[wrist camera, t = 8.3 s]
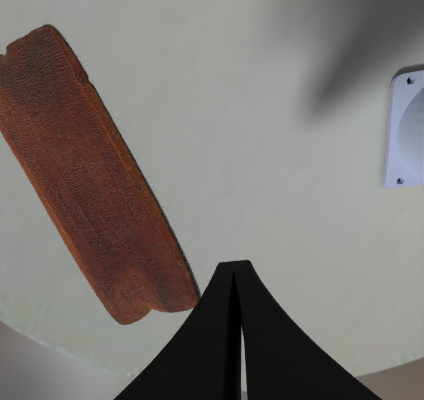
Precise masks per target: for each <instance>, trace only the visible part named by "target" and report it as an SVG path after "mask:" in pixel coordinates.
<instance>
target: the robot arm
mask: <svg viewBox="0 0 424 400" xmlns="http://www.w3.org/2000/svg"><path fill="white" fill-rule="evenodd" d="M408 77H409V78H410V80H411V81H410V83H409V84H408V83H407V79H408ZM399 178H400V182H398V183H397V180H398V179H399ZM383 184H384V186H386V187H388V188H398V187H407V186H415V185H423V184H424V70H420V71H414V72H408V73H403V74H400V75H397V76H396V77H394V79H393V80H392V83H391V94H390V106H389V118H388V130H387V143H386V155H385V167H384V179H383ZM241 325H242V331H243V336H244V346H245V362H246V379H247V395H248V400H382V399H381V398H379V397H378V396H377V395H376V394H374V393H373V392H372V391H371V390H369V389H368V388H367V387H366V386H364V385H363V384H362V383H361V382H359V381H358V380H357V379H356V378H354V377H353V376H352V375H351V374H350V373H349V372H347V371H346V370H345V369H344V368H343V367H342V366H341V365H339V364H338V363H337V362H336V361H335V360H334V359H333V358H331V357H330V356H329V355H328V354H327V353H326V352H324V351H323V350H322V349H321V348H320V347H319V346H318V345H317V344H316V343H315V342H314V341H313V340H312V339H311V338H310V337H309V336H308V335H306V334H305V333H304V332H303V330H302V329H301V328H300V327H299V326H298V325H297V324H296V323H295V322H294V321H293V320H292V319H291V318H290V317H289V316H288V315H287V313H286V312H285V311H284V310H283V309H282V308H281V306H280V305H279V304H278V303H277V302H276V300H275V299H274V298H273V296H272V295H271V294H270V292H269V291H268V290H267V288H266V287H265V286H264V284H263V283H262V281H261V280H260V278H259V276H258V275H257V273H256V271H255V270H254V268H253V266H252V263H251V262H250V261H249V260H241V261H230V262H220V263H219V264H218V265H217V267H216V270H215V272H214V274H213V276H212V278H211V280H210V282H209V284H208V286H207V288H206V289H205V291H204V293H203V295H202V296H201V298H200V300H199V301H198V303H197V304H196V306H195V307H194V309H193V310H192V312H191V313H190V315H189V316H188V318H187V319H186V321H185V322H184V323H183V325H182V326H181V327H180V329H179V330H178V331H177V333H176V334H175V335H174V336H173V338H172V339H171V340H170V341H169V342H168V344H167V345H166V346H165V347H164V348H163V349H162V350H161V352H160V353H159V354H158V355H157V356H156V357H155V358H154V360H153V361H152V362H151V363H150V364H149V365H148V366H147V367H146V368H145V369H144V370H143V371H142V372H141V373H140V374H139V375H138V376H137V377H136V378H135V379H134V380H133V381H132V382H131V383H130V384H129V385H128V386H127V387H126V388H125V389H124V390H123V391H122V392H121V393H120V394H119V395H118V396H117V397H116V398H115V399H114V400H241Z"/></svg>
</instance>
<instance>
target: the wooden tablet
mask: <svg viewBox="0 0 424 400" xmlns="http://www.w3.org/2000/svg"><path fill="white" fill-rule="evenodd" d="M6 50H7V52H6V54H5V55H1V54H0V131H1V133H2V134H3V136H4V138H5V140H6V142H7V143H8V145H9V146H10V148H11V150H12V152H13V153H14V155H15V156H16V158H17V159H18V161H19V162H20V164H21V166H22V168H23V170H24V171H25V173H26V175H27V177H28V178H29V181H30V182H31V184H32V186H33V187H34V189H35V191H36V193H37V195H38V197H39V198H40V200H41V202H42V203H43V205H44V207H45V209H46V210H47V212H48V214H49V216H50V218H51V220H52V222H53V223H54V225H55V226H56V228H57V230H58V232H59V234H60V235H61V237H62V239H63V241H64V243H65V244H66V246H67V248H68V250H69V251H70V253H71V255H72V256H73V258H74V260H75V261H76V263H77V265H78V266H79V268H80V270H81V271H82V273H83V274H84V276H85V277H86V279H87V280H88V282H89V284H90V285H91V287H92V288H93V290H94V292H95V293H96V295H97V297H98V298H99V299H100V301H101V302H102V304H103V305H104V307H105V308H106V310H107V311H108V312H109V314H110V315H111V316H112V317H113V318H114V320H116V321H117V322H118V323H119V324H122V325H127V324H132V323H133V322H136V321H138V320H140V319H142V318H143V317H144V316H146V315H147V314H148V313H149V311H150V310H151V309H154V310H158V311H160V312H168V313H174V312H181V311H186V310H190V309H192V308H194V307H195V306H196V304H197V303H198V301H199V297H198V294H197V292H196V288H195V286H194V283H193V280H192V277H191V275H190V272H189V270H188V268H187V266H186V264H185V261H184V259H183V256H182V254H181V251H180V249H179V248H178V245H177V243H176V241H175V239H174V237H173V235H172V233H171V231H170V229H169V227H168V225H167V223H166V221H165V219H164V217H163V215H162V213H161V211H160V209H159V207H158V205H157V203H156V201H155V200H154V198H153V196H152V194H151V193H150V191H149V189H148V187H147V185H146V183H145V181H144V180H143V178H142V176H141V174H140V172H139V170H138V168H137V166H136V164H135V162H134V161H133V159H132V157H131V155H130V153H129V152H128V150H127V148H126V146H125V144H124V142H123V140H122V139H121V137H120V135H119V133H118V132H117V130H116V128H115V126H114V124H113V122H112V120H111V119H110V117H109V115H108V113H107V111H106V110H105V108H104V106H103V104H102V102H101V100H100V99H99V97H98V95H97V93H96V91H95V90H94V88H93V86H92V85H91V84H90V83H89V82H88V80H87V76H86V74H85V73H84V71H83V70H82V68H81V66H80V65H79V63H78V61H77V60H76V58H75V56H74V55H73V53H72V52H71V50H70V49H69V47H68V46H67V44H66V43H65V42H64V40H63V39H62V38H61V37H60V35H59V34H58V33H57V32H56V31H55V30H54V29H53V28H52V27H50V26H47V25H45V26H42V27H40V28H39V29H35V30H33V31H31V32H30V33H29V34H28V35H25V36H24V37H22V38H20V39H17V40H16V41H13V42H12V43H10V44H9V45H8V46H7V47H6Z"/></svg>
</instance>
